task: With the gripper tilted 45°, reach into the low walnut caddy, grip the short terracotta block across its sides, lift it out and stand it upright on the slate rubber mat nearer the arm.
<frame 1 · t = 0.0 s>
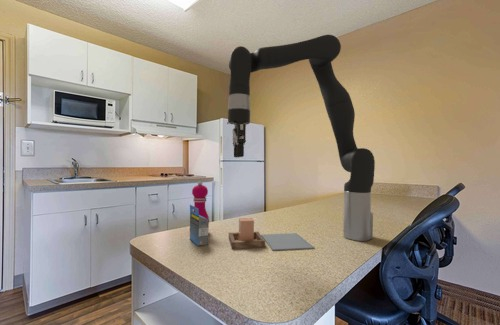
hand: (238, 157, 83), 29 cm above the table, tool pointing down, fingers open, 8 cm apart
label tape cartridge: (198, 242, 84), on the table
terracotta block: (246, 230, 84), in the walnut caddy
slate mat: (285, 241, 86), on the table
walnut caddy: (245, 242, 84), on the table
pepper mill: (199, 233, 95), on the table
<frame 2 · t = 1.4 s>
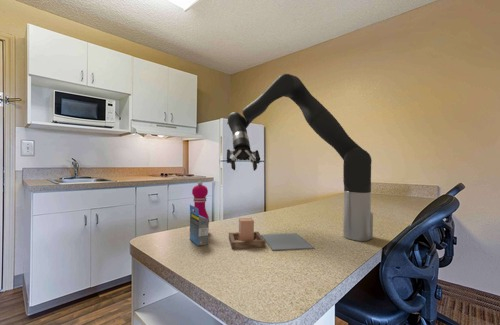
hand: (244, 169, 101), 25 cm above the table, tool tilted 45°, fingers open, 8 cm apart
nothing on the table moved.
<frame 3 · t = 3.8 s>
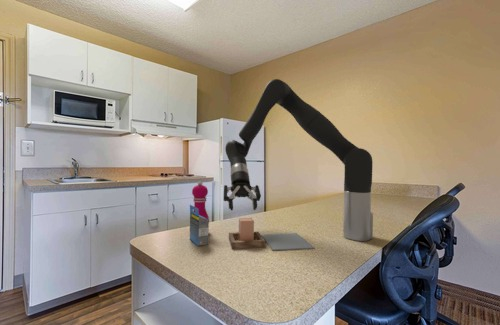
hand: (243, 209, 91), 10 cm above the table, tool tilted 45°, fingers open, 8 cm apart
nothing on the table moved.
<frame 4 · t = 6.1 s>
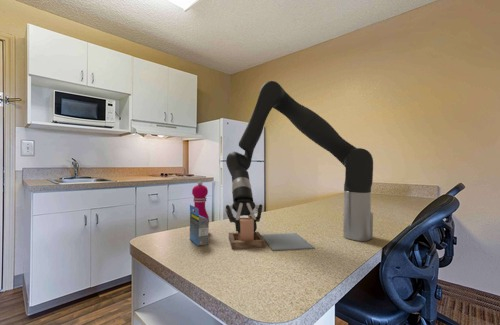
hand: (246, 231, 83), 4 cm above the table, tool tilted 45°, fingers closed on terracotta block, 4 cm apart
terracotta block: (246, 230, 84), in the walnut caddy, touching gripper
everything else where it was.
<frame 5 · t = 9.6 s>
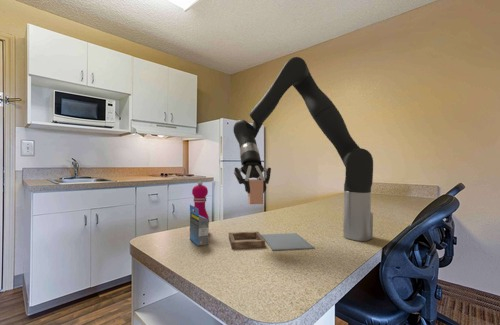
hand: (256, 191, 83), 18 cm above the table, tool tilted 45°, fingers closed on terracotta block, 4 cm apart
terracotta block: (255, 191, 84), point 18 cm above the table, touching gripper
everything else where it was.
when the fingers open (6 cm above the table, at t = 13.3 s): terracotta block drops 1 cm, resting on slate mat.
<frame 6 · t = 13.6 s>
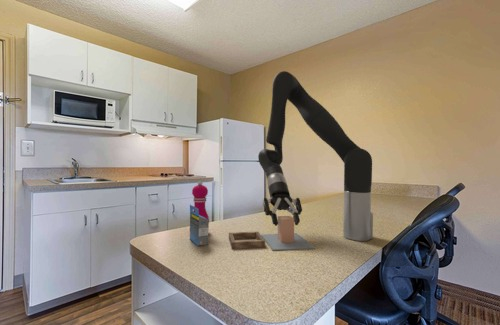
hand: (287, 224, 85), 6 cm above the table, tool tilted 45°, fingers open, 7 cm apart
terracotta block: (285, 228, 86), on the slate mat
everything else where it was.
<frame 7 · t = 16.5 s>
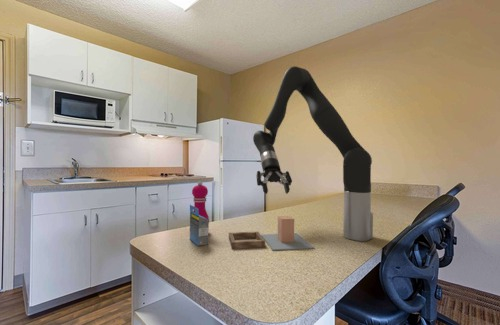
hand: (277, 192, 97), 16 cm above the table, tool tilted 45°, fingers open, 8 cm apart
nothing on the table moved.
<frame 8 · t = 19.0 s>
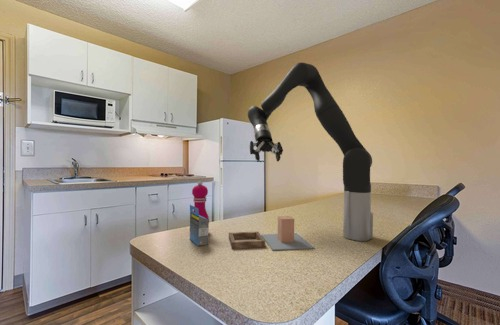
hand: (268, 159, 103), 29 cm above the table, tool tilted 45°, fingers open, 8 cm apart
nothing on the table moved.
at the end: terracotta block inside the target area on the slate mat (0.2 cm from its centre), point 4.4 cm above the slate mat's base; terracotta block tilted 0°; the gripper is holding nothing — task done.
